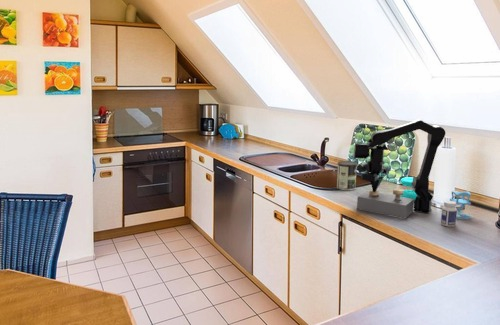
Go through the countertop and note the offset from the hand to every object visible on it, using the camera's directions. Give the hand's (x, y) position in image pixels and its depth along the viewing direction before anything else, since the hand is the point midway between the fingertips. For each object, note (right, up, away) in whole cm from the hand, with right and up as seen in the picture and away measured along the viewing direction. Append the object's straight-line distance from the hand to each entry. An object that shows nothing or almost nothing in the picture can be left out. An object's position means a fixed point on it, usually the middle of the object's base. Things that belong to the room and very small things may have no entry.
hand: (374, 191), depth 202 cm
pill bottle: (+25, -13, -20) cm, 35 cm away
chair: (+35, -10, -9) cm, 38 cm away
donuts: (+23, -5, +18) cm, 30 cm away
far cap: (0, -6, +1) cm, 7 cm away
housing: (+4, -9, -2) cm, 10 cm away
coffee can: (-5, -1, +37) cm, 37 cm away
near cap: (+9, -5, -6) cm, 12 cm away
